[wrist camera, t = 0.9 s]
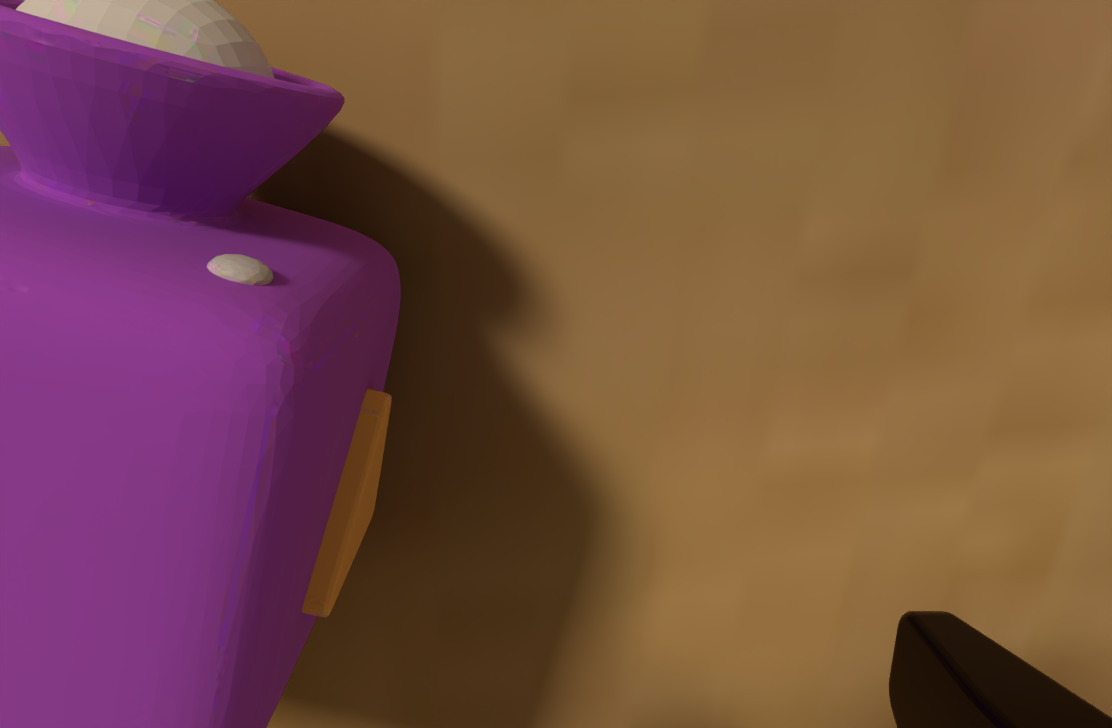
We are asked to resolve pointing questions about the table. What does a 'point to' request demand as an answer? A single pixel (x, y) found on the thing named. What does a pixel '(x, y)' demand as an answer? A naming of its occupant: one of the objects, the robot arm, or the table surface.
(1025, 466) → the table surface
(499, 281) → the table surface
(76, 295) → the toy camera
